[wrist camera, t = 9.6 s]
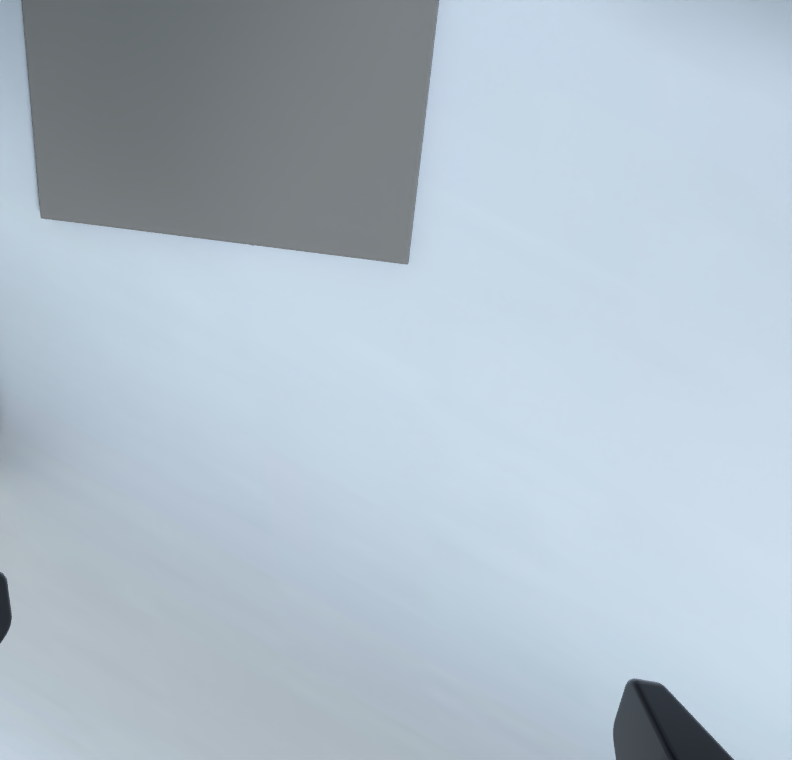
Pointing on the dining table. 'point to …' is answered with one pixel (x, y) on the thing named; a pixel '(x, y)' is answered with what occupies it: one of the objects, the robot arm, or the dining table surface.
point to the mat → (234, 118)
